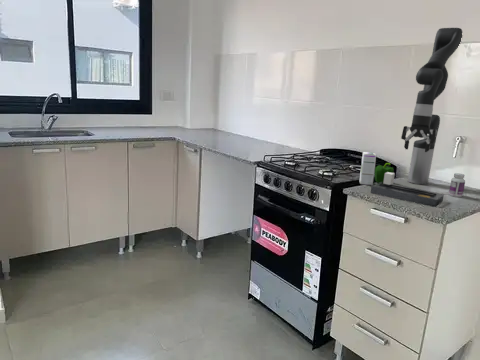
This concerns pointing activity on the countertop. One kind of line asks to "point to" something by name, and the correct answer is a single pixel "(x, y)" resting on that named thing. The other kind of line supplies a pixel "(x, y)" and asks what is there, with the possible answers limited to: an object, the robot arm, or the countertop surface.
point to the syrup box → (367, 168)
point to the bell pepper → (382, 172)
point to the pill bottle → (457, 185)
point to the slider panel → (408, 194)
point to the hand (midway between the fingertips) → (416, 150)
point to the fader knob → (389, 178)
